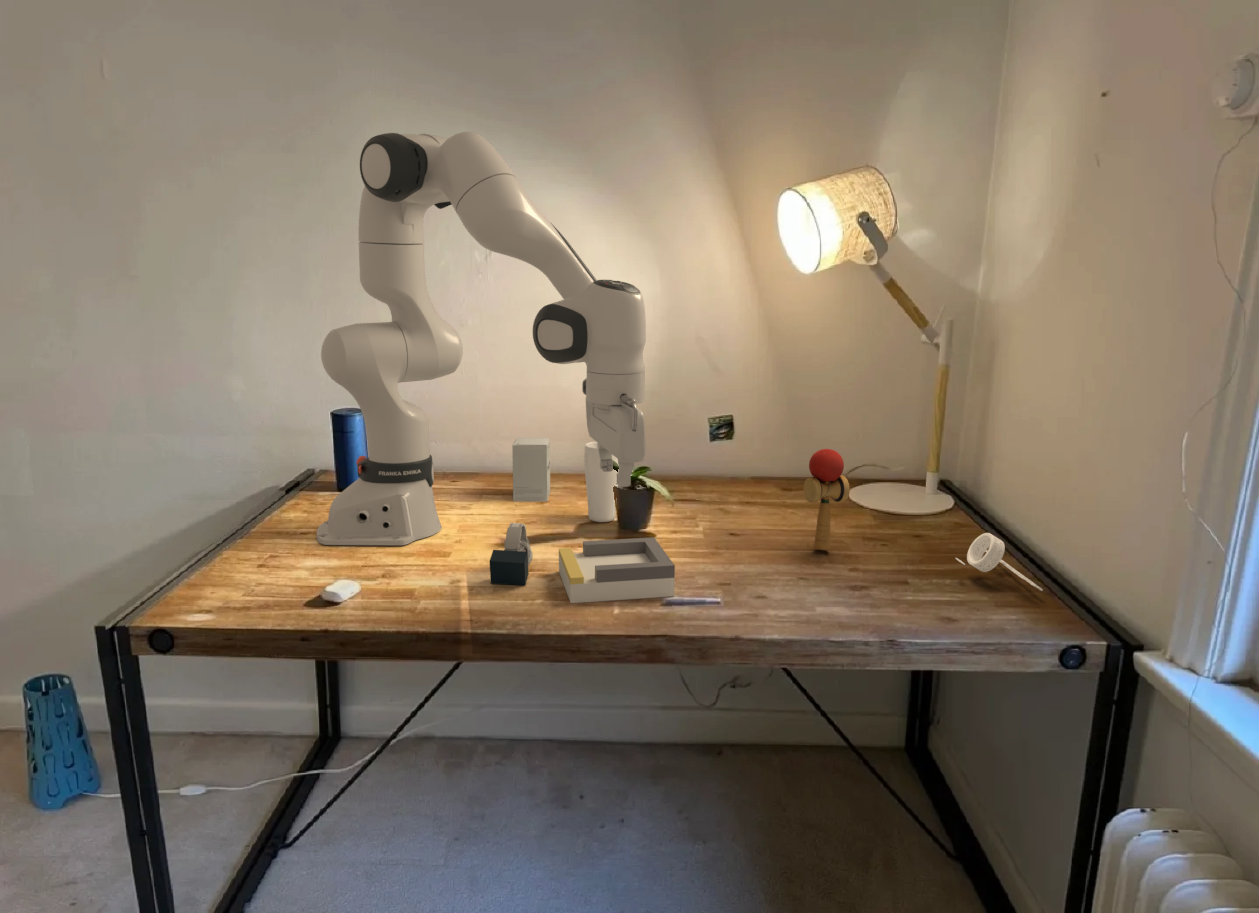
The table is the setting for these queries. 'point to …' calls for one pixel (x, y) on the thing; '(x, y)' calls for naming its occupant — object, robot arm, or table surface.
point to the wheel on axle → (989, 555)
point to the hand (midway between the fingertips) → (614, 477)
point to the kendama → (825, 490)
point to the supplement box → (531, 469)
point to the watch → (512, 558)
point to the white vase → (599, 486)
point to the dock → (612, 587)
